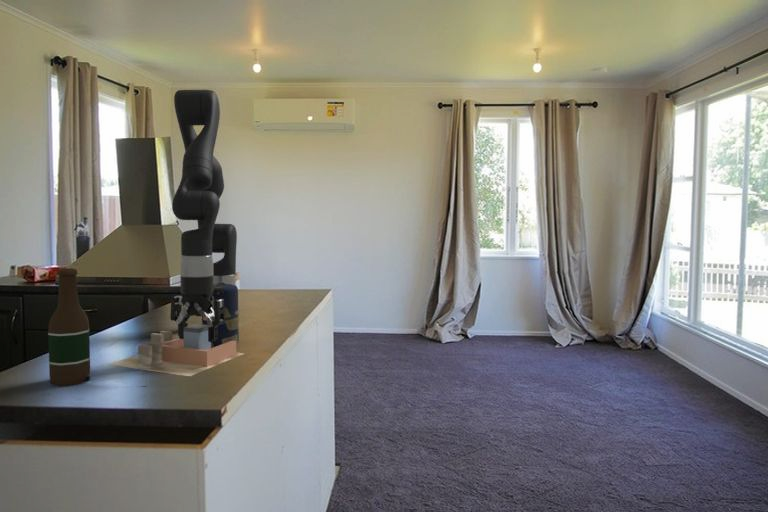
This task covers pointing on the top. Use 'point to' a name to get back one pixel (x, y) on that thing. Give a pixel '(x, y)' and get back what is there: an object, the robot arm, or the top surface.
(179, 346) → the tray
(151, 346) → the board
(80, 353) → the beer bottle
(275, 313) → the top surface
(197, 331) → the grey block
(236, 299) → the canister
